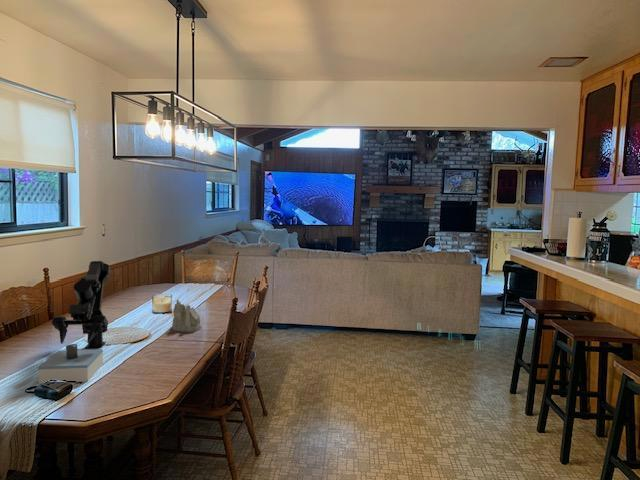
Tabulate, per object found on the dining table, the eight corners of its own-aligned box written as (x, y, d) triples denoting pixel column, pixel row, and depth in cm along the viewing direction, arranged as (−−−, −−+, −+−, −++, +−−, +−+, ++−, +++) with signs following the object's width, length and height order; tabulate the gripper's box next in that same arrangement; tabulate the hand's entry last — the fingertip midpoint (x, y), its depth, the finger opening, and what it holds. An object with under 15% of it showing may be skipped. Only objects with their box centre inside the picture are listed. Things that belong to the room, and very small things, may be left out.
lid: (58, 355, 169) (57, 339, 169) (102, 353, 172) (102, 337, 171) (38, 371, 153) (37, 354, 153) (87, 370, 156) (86, 352, 155)
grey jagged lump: (192, 333, 212) (192, 301, 211) (164, 329, 218) (164, 299, 217) (211, 326, 226) (211, 297, 226) (185, 323, 232) (185, 295, 232)
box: (58, 365, 170) (58, 353, 169) (103, 364, 172) (102, 351, 172) (38, 383, 154) (38, 369, 153) (87, 381, 156) (87, 367, 156)
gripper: (52, 295, 167) (39, 333, 157) (104, 294, 170) (95, 331, 160) (62, 310, 175) (50, 347, 166) (111, 309, 178) (103, 345, 168)
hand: (74, 342), depth 165 cm, fingers open, 9 cm apart
